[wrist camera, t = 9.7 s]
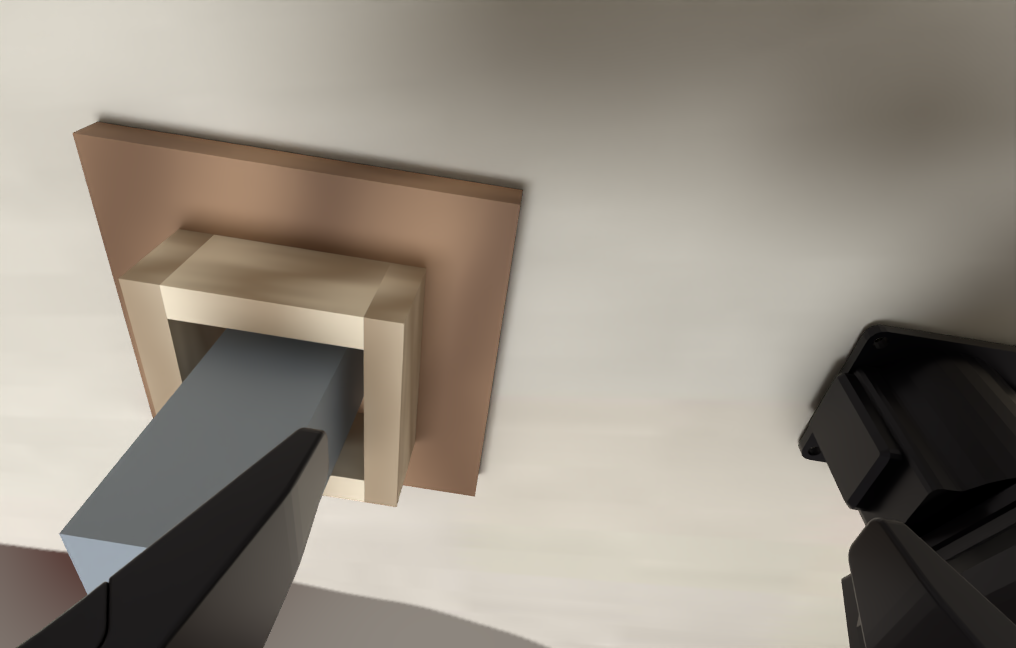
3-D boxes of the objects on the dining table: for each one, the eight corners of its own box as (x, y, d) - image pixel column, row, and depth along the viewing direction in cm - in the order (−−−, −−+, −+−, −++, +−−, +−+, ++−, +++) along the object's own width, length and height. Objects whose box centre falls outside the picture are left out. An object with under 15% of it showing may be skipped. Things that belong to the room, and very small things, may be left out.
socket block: (522, 189, 20) (512, 255, 16) (478, 475, 28) (464, 562, 24) (97, 121, 20) (-12, 171, 16) (175, 428, 28) (115, 508, 24)
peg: (364, 313, 22) (238, 562, 13) (363, 396, 24) (256, 651, 16) (253, 295, 22) (59, 533, 13) (263, 379, 24) (103, 627, 16)
